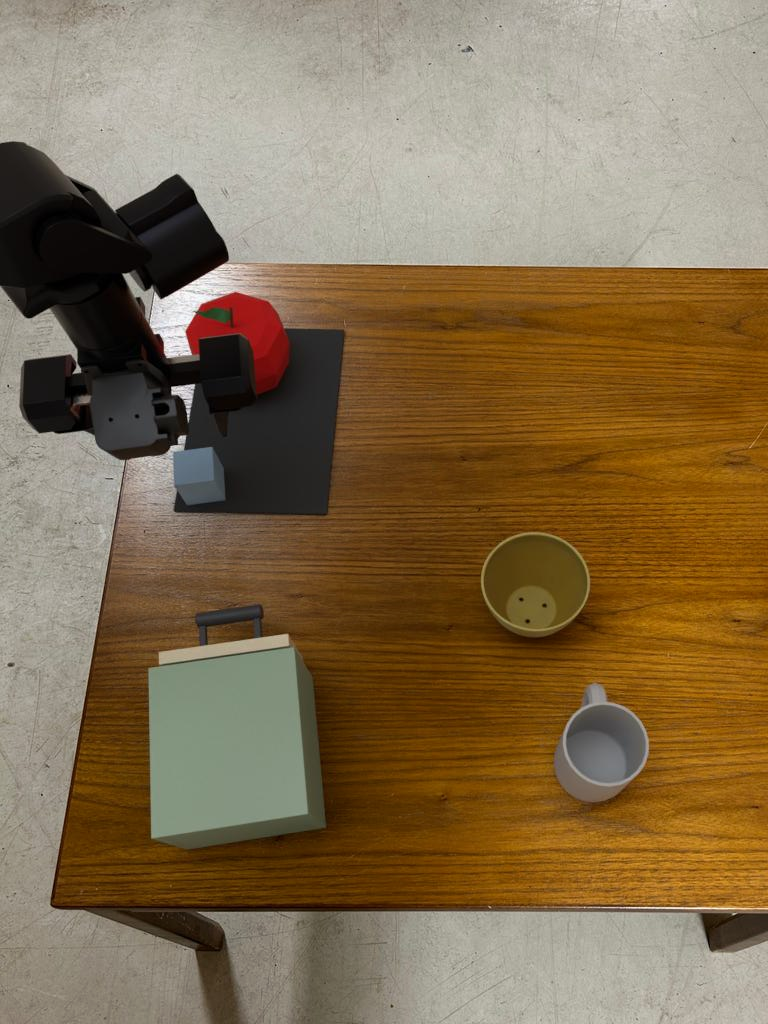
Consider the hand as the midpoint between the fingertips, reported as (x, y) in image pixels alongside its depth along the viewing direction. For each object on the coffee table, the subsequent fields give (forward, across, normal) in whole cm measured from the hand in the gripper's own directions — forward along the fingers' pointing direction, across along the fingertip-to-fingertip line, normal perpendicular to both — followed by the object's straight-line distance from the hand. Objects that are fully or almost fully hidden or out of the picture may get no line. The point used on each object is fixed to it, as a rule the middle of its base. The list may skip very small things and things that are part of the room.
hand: (175, 439), depth 75 cm
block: (+10, 0, +1) cm, 10 cm away
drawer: (+9, +3, -25) cm, 27 cm away
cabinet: (+10, +3, -29) cm, 31 cm away
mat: (+10, +6, +9) cm, 15 cm away
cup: (+10, +34, -33) cm, 49 cm away
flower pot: (+10, +31, -18) cm, 38 cm away
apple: (+10, +5, +15) cm, 19 cm away
